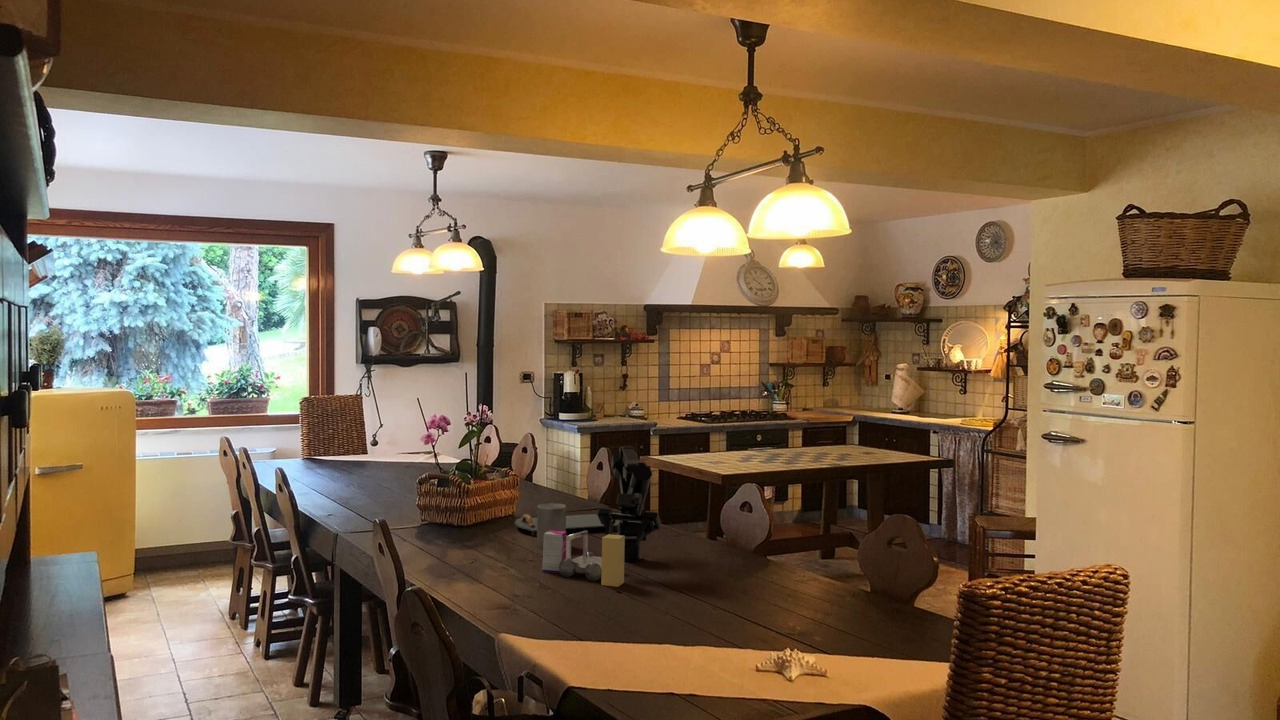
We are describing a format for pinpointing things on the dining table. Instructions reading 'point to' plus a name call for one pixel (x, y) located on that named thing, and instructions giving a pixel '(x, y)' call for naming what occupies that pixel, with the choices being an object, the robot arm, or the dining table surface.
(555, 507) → the pillar candle
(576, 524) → the serving board
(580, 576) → the dining table surface
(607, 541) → the tall yellow block
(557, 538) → the supplement box
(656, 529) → the robot arm
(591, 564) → the trolley
